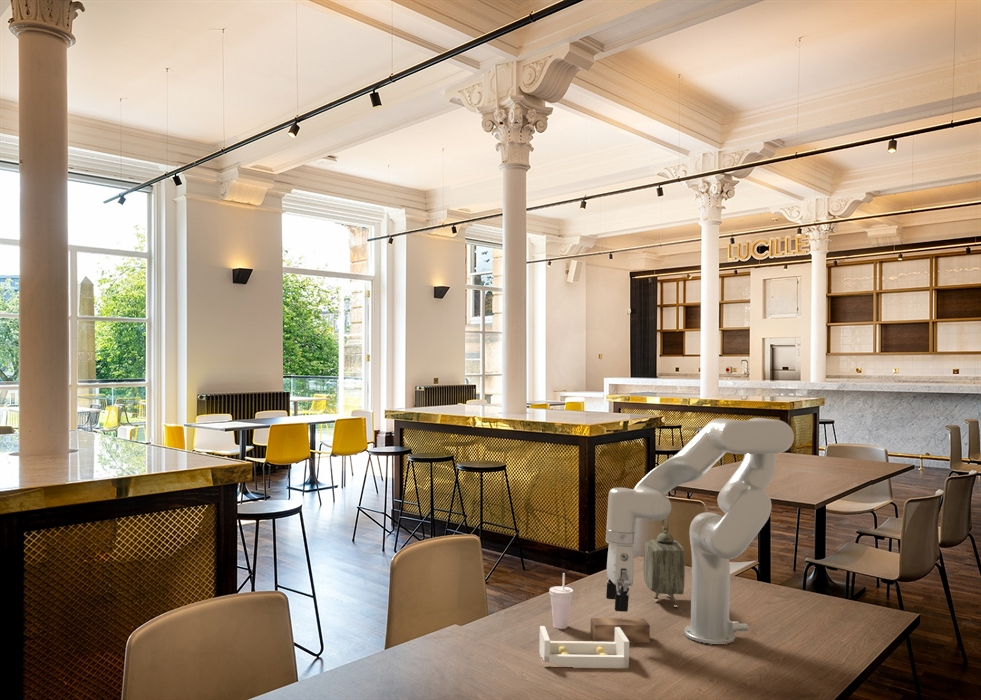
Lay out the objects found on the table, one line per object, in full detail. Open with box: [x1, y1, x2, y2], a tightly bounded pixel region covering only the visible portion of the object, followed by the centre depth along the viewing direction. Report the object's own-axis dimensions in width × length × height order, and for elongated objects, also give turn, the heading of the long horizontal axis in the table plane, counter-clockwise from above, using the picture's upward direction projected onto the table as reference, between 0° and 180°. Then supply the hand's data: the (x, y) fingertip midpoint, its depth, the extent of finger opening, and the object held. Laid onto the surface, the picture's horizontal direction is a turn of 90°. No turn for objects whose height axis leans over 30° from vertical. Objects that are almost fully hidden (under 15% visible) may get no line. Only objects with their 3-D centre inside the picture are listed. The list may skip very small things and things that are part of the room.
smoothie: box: [548, 572, 574, 630], centre depth 187 cm, size 6×6×14 cm
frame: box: [538, 625, 630, 669], centre depth 165 cm, size 19×9×6 cm, turn 93°
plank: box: [589, 617, 651, 643], centre depth 179 cm, size 14×5×4 cm, turn 94°
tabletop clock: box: [643, 517, 686, 606], centre depth 211 cm, size 14×9×25 cm, turn 179°
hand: (616, 604), depth 179 cm, fingers open, 9 cm apart
